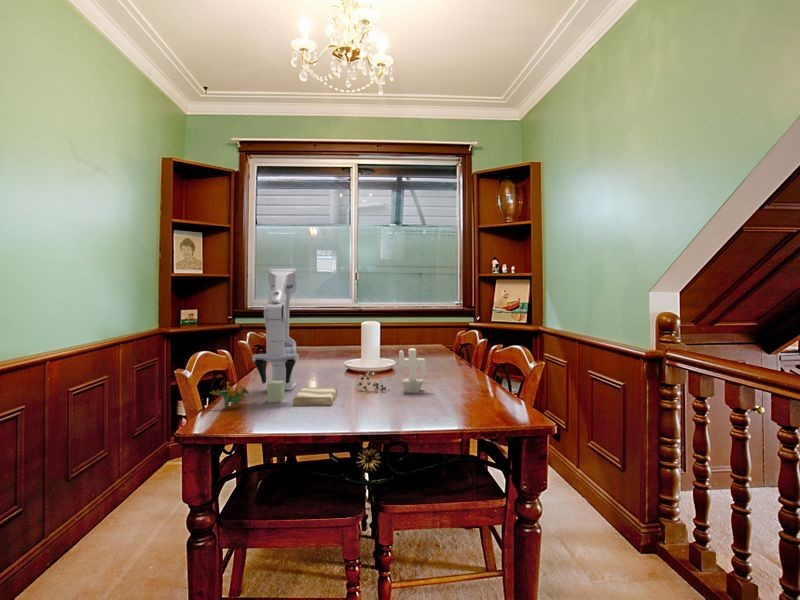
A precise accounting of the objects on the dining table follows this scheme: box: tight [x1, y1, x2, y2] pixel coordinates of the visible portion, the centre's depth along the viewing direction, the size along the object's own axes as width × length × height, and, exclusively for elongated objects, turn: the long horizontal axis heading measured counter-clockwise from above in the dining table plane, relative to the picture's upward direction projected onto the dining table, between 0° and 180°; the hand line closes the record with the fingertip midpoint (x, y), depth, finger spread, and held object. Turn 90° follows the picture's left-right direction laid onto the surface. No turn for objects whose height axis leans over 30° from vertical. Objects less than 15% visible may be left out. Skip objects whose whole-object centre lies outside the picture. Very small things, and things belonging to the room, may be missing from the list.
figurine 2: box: [398, 347, 427, 394], centre depth 159 cm, size 7×9×15 cm
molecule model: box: [355, 368, 390, 393], centre depth 160 cm, size 6×12×8 cm, turn 83°
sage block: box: [266, 380, 286, 403], centre depth 148 cm, size 4×4×6 cm
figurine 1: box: [209, 381, 249, 410], centre depth 138 cm, size 3×12×8 cm, turn 90°
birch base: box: [292, 386, 338, 407], centre depth 148 cm, size 14×12×2 cm
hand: (275, 382), depth 147 cm, fingers open, 7 cm apart
